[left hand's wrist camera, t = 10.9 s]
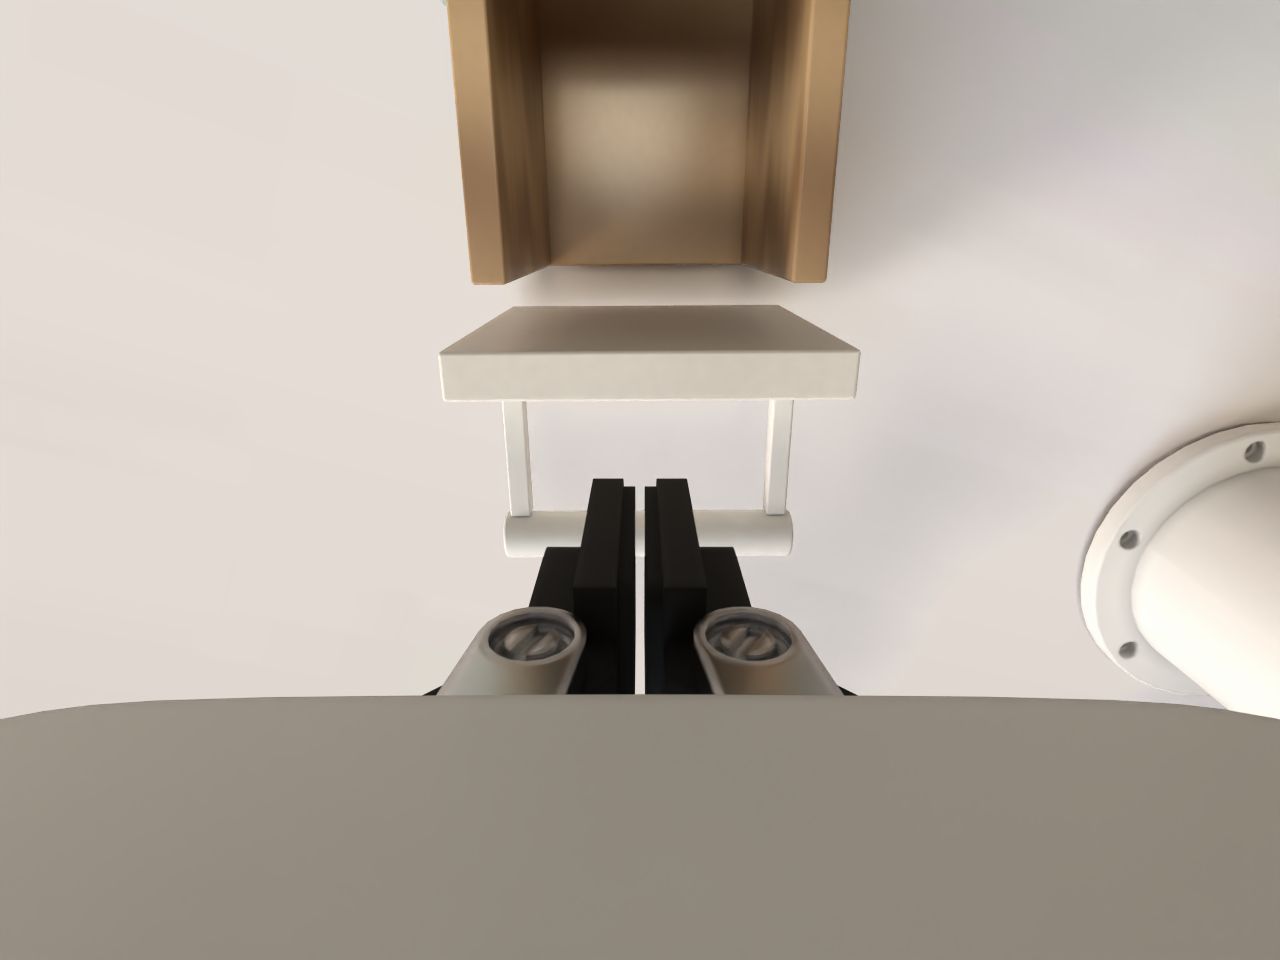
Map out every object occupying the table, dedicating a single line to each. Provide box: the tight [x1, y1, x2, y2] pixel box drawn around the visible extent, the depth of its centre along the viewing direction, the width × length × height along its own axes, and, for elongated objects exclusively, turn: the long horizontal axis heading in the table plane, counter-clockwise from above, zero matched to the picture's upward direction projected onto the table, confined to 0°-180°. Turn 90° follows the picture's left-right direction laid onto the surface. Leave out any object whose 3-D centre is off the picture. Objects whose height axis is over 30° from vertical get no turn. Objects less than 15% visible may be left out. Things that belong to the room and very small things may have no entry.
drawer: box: [438, 0, 860, 557], centre depth 19 cm, size 21×10×10 cm, turn 0°
